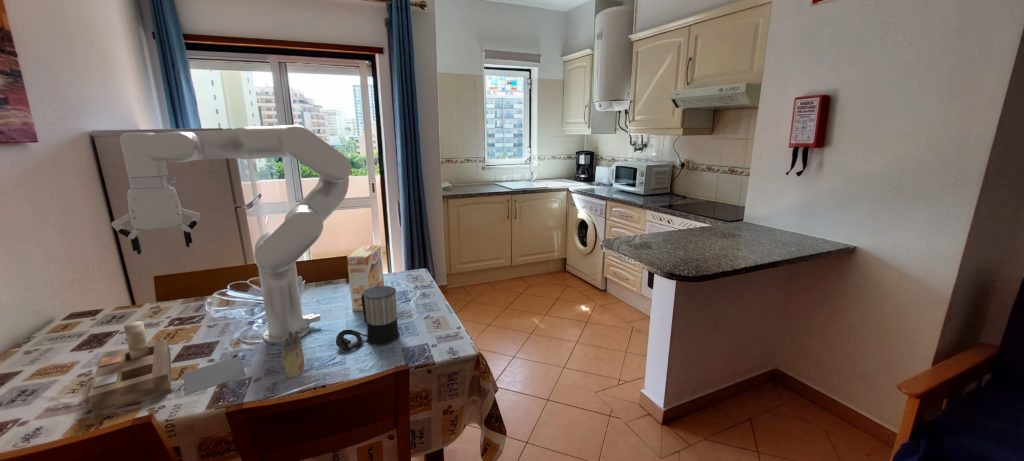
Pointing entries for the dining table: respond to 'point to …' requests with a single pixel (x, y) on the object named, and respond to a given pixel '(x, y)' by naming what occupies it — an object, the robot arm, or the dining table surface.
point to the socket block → (130, 378)
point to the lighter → (293, 355)
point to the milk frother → (375, 319)
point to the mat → (213, 375)
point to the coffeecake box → (364, 272)
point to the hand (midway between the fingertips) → (164, 249)
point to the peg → (136, 340)
